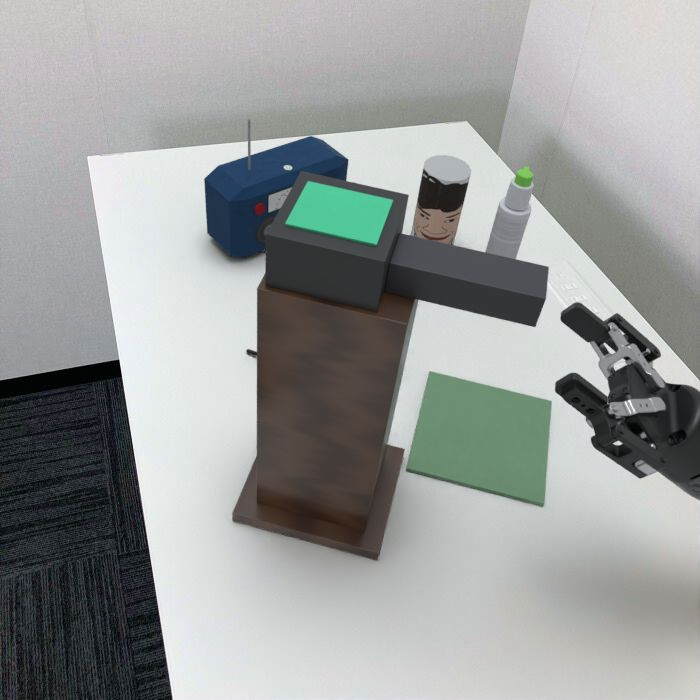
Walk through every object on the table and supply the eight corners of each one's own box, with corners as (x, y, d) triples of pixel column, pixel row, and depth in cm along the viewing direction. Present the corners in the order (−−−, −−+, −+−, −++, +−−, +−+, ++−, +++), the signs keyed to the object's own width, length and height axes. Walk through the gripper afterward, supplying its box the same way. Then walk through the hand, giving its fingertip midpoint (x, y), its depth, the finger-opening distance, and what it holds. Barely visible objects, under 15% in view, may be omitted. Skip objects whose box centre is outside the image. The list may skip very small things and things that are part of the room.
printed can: (399, 252, 113) (414, 167, 103) (422, 233, 117) (439, 149, 107) (436, 271, 111) (455, 187, 100) (458, 251, 115) (479, 167, 104)
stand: (403, 456, 87) (456, 238, 64) (377, 560, 77) (429, 348, 54) (273, 422, 88) (279, 199, 65) (232, 520, 79) (222, 298, 56)
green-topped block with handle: (540, 276, 61) (558, 225, 57) (532, 349, 55) (553, 298, 51) (298, 220, 63) (301, 168, 60) (264, 285, 57) (265, 231, 53)
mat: (550, 403, 95) (551, 400, 94) (543, 506, 84) (544, 504, 83) (429, 373, 96) (429, 370, 96) (405, 470, 85) (406, 468, 85)
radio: (236, 268, 107) (233, 146, 93) (204, 237, 112) (197, 116, 97) (347, 223, 117) (360, 107, 103) (314, 196, 122) (322, 81, 107)
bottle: (509, 289, 110) (547, 173, 95) (496, 303, 107) (533, 186, 93) (484, 276, 111) (517, 160, 97) (470, 290, 109) (502, 173, 94)
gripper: (727, 370, 66) (602, 264, 62) (748, 499, 57) (601, 385, 52) (657, 405, 71) (537, 310, 67) (665, 530, 62) (524, 428, 57)
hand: (565, 343), depth 60 cm, fingers open, 8 cm apart
